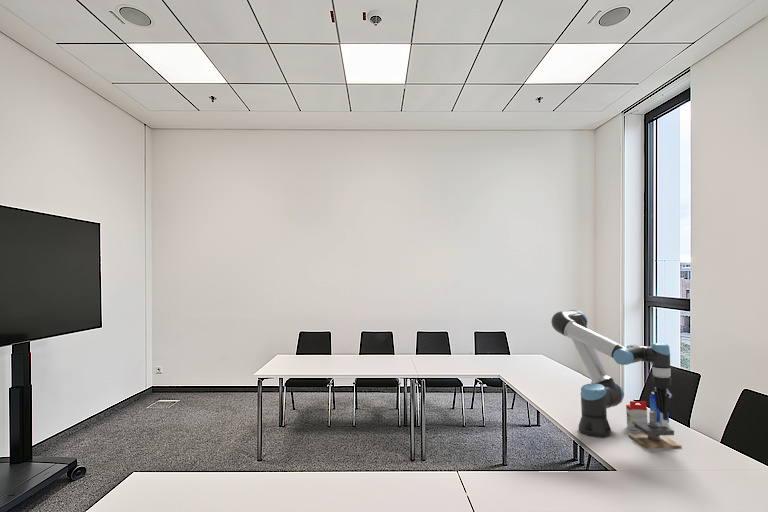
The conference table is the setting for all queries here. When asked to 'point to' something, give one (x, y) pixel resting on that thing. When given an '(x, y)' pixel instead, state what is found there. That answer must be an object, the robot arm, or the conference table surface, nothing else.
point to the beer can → (653, 407)
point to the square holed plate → (653, 429)
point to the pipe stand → (654, 437)
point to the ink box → (636, 414)
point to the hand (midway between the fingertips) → (664, 426)
